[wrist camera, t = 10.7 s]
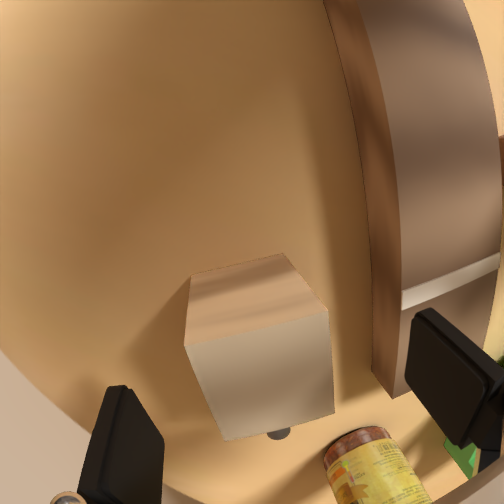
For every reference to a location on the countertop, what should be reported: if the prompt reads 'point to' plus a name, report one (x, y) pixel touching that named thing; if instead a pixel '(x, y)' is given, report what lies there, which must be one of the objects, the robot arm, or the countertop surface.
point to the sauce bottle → (372, 470)
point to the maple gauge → (259, 348)
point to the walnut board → (423, 167)
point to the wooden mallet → (502, 156)
